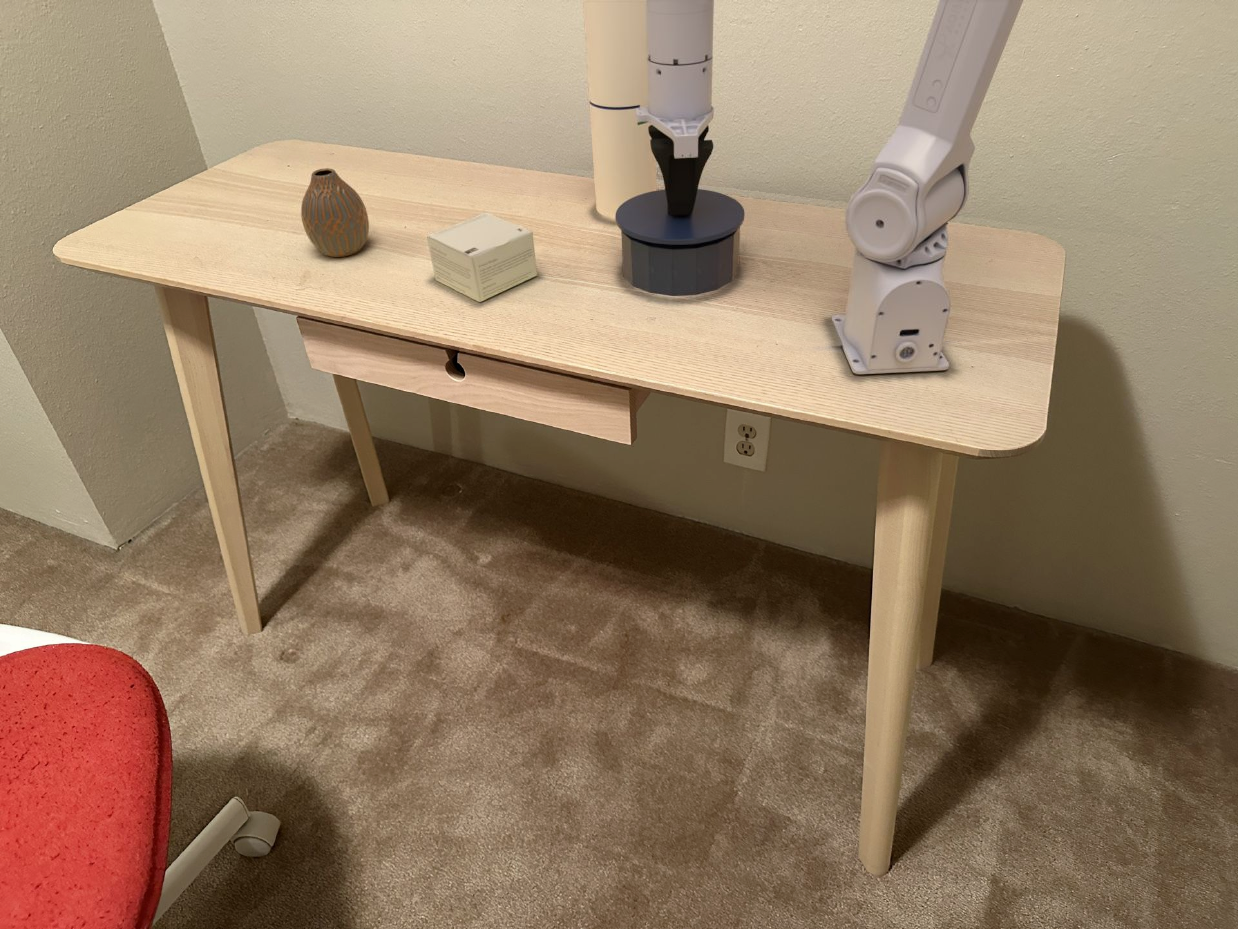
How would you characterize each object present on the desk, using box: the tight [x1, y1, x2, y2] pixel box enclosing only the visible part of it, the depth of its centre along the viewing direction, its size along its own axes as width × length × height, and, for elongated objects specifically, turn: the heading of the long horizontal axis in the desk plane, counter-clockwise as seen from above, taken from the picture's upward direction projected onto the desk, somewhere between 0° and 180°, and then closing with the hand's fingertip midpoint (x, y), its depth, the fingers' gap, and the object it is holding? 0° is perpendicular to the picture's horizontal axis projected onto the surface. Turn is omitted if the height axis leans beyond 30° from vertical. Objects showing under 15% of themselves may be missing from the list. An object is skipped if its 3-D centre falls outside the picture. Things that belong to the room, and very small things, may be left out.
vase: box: [300, 167, 370, 258], centre depth 93 cm, size 7×7×9 cm
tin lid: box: [614, 188, 746, 245], centre depth 83 cm, size 13×13×5 cm
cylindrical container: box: [582, 0, 658, 219], centre depth 93 cm, size 7×7×25 cm
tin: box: [620, 226, 741, 297], centre depth 86 cm, size 12×12×5 cm
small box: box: [426, 211, 538, 303], centre depth 87 cm, size 8×8×5 cm
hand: (679, 207), depth 83 cm, fingers closed on tin lid, 2 cm apart
